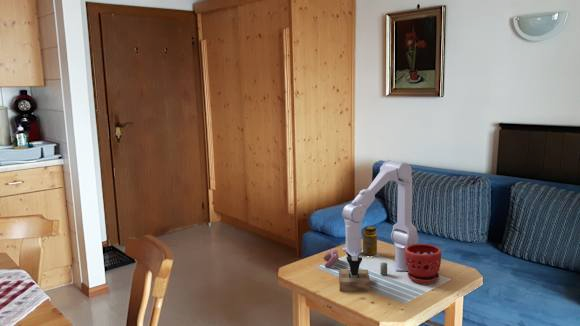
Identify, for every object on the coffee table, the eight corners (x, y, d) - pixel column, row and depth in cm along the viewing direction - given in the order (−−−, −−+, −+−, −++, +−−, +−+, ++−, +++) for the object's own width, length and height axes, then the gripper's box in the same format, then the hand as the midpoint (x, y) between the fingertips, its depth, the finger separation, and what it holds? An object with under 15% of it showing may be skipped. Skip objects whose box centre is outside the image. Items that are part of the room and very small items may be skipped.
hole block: (367, 278, 185) (367, 269, 184) (370, 290, 174) (370, 281, 173) (338, 278, 186) (338, 269, 185) (339, 291, 175) (339, 281, 174)
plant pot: (447, 277, 183) (447, 247, 180) (429, 289, 174) (429, 257, 171) (416, 269, 192) (416, 240, 190) (398, 279, 183) (398, 249, 181)
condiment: (381, 253, 210) (381, 227, 208) (369, 259, 204) (369, 231, 202) (367, 249, 215) (366, 223, 213) (355, 255, 209) (355, 228, 207)
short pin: (386, 273, 189) (386, 262, 188) (387, 276, 186) (387, 264, 186) (380, 273, 189) (380, 262, 188) (380, 276, 186) (380, 265, 186)
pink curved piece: (334, 271, 196) (341, 256, 195) (324, 267, 196) (331, 252, 195) (332, 262, 206) (339, 248, 205) (322, 258, 206) (329, 244, 204)
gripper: (341, 230, 184) (342, 264, 186) (343, 243, 170) (343, 280, 172) (360, 230, 183) (360, 264, 186) (363, 243, 169) (363, 280, 172)
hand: (353, 272), depth 179 cm, fingers open, 5 cm apart
